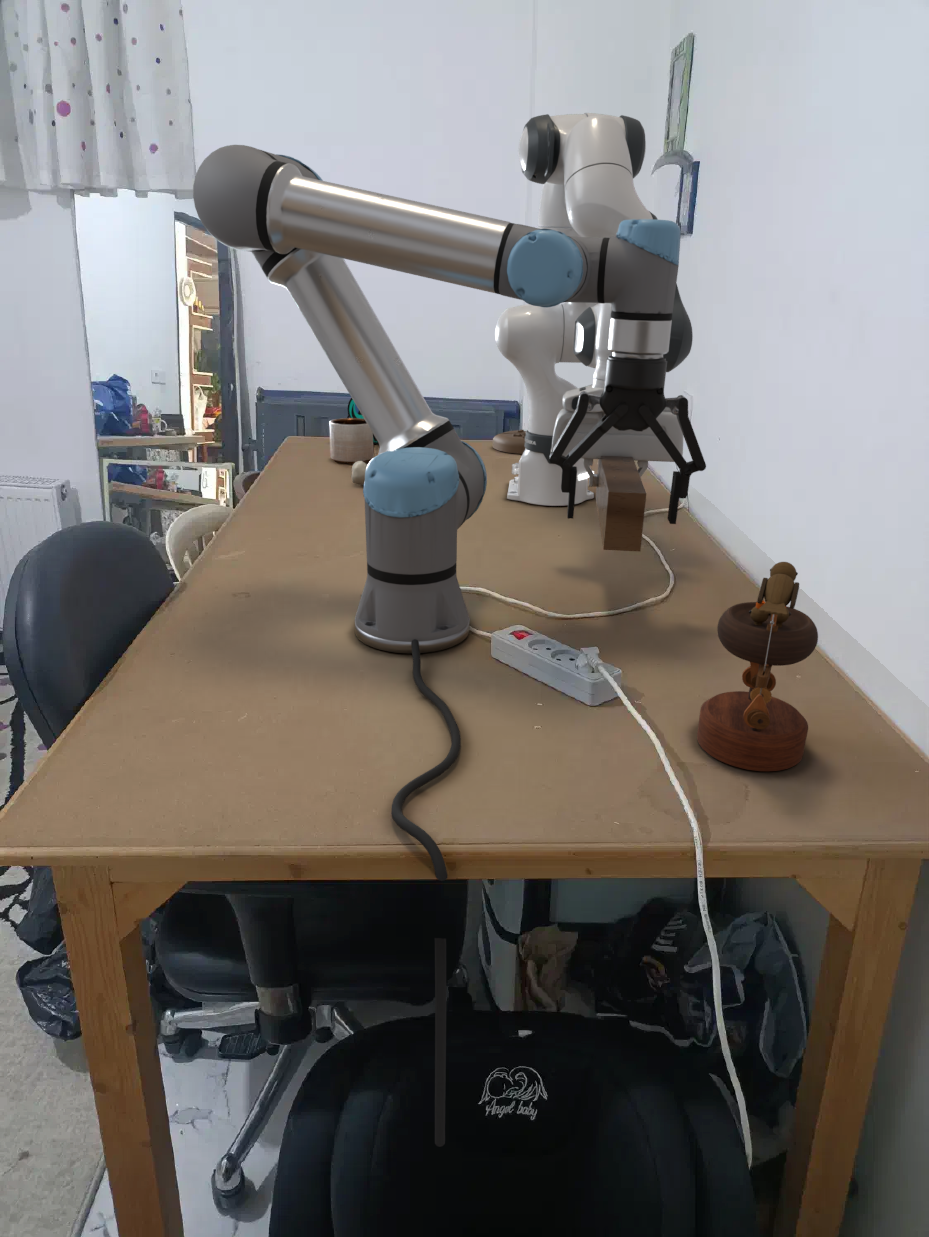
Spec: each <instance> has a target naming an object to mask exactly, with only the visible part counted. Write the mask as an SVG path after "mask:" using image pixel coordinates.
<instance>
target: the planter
mask: <svg viewBox="0 0 929 1237" xmlns="http://www.w3.org/2000/svg"><path fill="white" fill-rule="evenodd" d="M328 424H329V425H328V426H329V453H330V454H329V455H330V456H329V457H330V459H331V460H332V461H333V462H335V463H341V464H354V463H355V462H358V461H363V462H364V463H367V462H368V463H369V462H370V461H371V460H372V459H373V458H374V457H375V455H374V452H375V451H374V450H375V449H374V444H373V432H372V431H371V429H370V427H369V426H368V424H367V422H366V421H365V419H362V418H347V417H342V418H341V417H340V418H335V419H334V418H333V419H331V420H329V421H328Z"/></svg>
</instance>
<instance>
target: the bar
mask: <svg viewBox="0 0 929 1237" xmlns="http://www.w3.org/2000/svg"><path fill="white" fill-rule="evenodd" d="M596 474H598V476H599V479H598V487H595V504H596V509H597V516H598V522H599V529H600V535H601V542H602V548H603V551H619V552H621V551H622V552H641V551H642V540H643V532H644V522H645V513H646V512H645V511H646V504H647V503H646V501H647V492H646V489H645V486H644V483H643V480H642V477H641V478H640V475H639V473H638V468H637V464H636V461H635V460H634V459H633V457H622V456H601V458H600V459H597V472H596Z"/></svg>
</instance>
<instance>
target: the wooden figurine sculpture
mask: <svg viewBox="0 0 929 1237" xmlns="http://www.w3.org/2000/svg"><path fill="white" fill-rule="evenodd" d="M798 574H799V572H797V569H796V567H795V566H794V565H793V564H792V563H791V562H788V561H779V562H777V563H775V564H774V565H773V566H772V567H771V568H769V575H770V576H769V577H763V578H762V581H761V585H760V588H759V592H758V596H757V600H756V601H747V602H740V603H737V604H734V605H732V606H730V607H728V608H727V609H725V611H723V612H722V614H721V615H720V617H719V620H718V622H717V628H716V632H717V637H718V640H719V641H720V644H721V645H722V646H723V648H724V649H725V650H726V651H727V652H728V653H730V654H731V655H733V656H735V657H736V658H738V659H741V660H743V661H747V662H749V666H747V667H746V668H745V669H744V670H743V672H742V673H741V678H742V679H741V680H742V683H743V684H744V685H745V686H746V687H748V688H749V689H748V691H745V690H744V691H743V690H739V691H737V690H735V691H734V690H733V691H725V692H722V693H719V694H716V695H714V696H712V697H711V698H708V699H707V700H705V701H704V702H703V703H702V705H701V706H700V709H699V710H700V711H699V718H698V724H697V732H696V739H697V742H698V744H699V746H700V748H702V750H703V751H704V752H706V753H707V754H708V755H710V756H711V757H712V758H714V759H716V760H718V761H719V762H722V763H724V764H726V765H729V766H731V767H732V766H733V767H736V768H739V769H743V770H748V771H753V772H754V771H755V772H778V771H783V770H787V769H791V768H792V767H794V766H795V767H796V765H798V764H799V763H800V762H801V761H802V759H803V757H804V752H805V747H806V742H807V737H808V732H809V724H808V721H807V720H806V718H805V716H803V715H802V714H801V712H800V711H799V710H798V709H797V708H796V707H795V706H794V705H792V704H790V703H788V702H786V701H784V700H783V699H781V698H778V697H774V696H772V691H773V690H774V689H775V687H776V685H777V679H776V676H775V675H774V674H773V673H772V671H771V670H772V668H773V667H774V666H777V667H779V666H790V665H795V664H797V663H800V662H802V661H804V660H806V659H808V658H809V657H810V656H811V655H812V654H813V653H814V651H815V649H816V647H817V645H818V641H819V631H818V628H817V626H816V624H815V622H814V621H813V619H812V618H811V617H810V616H809V615H807V614H806V613H805V612H803V611H801V610H799V609H796V608H795V606H796V603H797V598H798V595H799V588H800V583H799V582H797V581H796V578H797V576H798ZM788 605H789V606H788Z"/></svg>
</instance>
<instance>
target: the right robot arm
mask: <svg viewBox="0 0 929 1237" xmlns="http://www.w3.org/2000/svg"><path fill="white" fill-rule="evenodd" d="M646 150H647V142H646V133H645V129H644V127H643V124H642V123H641V121H640V120H638V119H636V118H634V117H630V116H627V115H623V114H621V115H620V116H617V115H616V116H615V115H611V114H606V113H605V114H604V113H595V112H584V113H569V114H568V113H567V114H557V115H556V114H555V115H550V114H548V113H547V114H542V115H537V116H533V117H531V118H530V119H529V120H528V121H527V122H526V123H525V124H524V127H523V130H522V133H521V135H520V139H519V142H518V150H517V152H518V161H519V165H520V168H521V172H522V174H523V175H524V177H525V178H526V180H527V181H530V182H531V183H536V184H541V185H542V189H541V193H540V194H541V195H540V201H539V208H538V217H537V218H538V219H537V228H539V229H551V230H555V231H559V232H562V233H564V234H566V235H567V236H570V237H592V238H605V237H606V238H610V237H616V233H617V232H618V228H619V224H620V223H621V222H622V221H623V220H631V219H636V220H638V219H656V220H659V219H658V217H657V216H656V215H655V214H654V213H653V212H651V211H650V210H648V208H646V206H645V205H644V204H643V202H642V200H641V199H640V197H639V194H638V193H637V191H636V187H635V184H634V179H635V178H636V177H637V176H638V174H639V173H640V172H641V170H642V168H643V163H644V161H645V158H646ZM611 311H612V305H611V303H580V302H563V303H560V304H559V305H556V306H553V307H540V306H533V305H530V304H528V303H526V304H521V305H516V306H512V307H507V308H505V310H504V311H502V312H501V314H500V315H499V317H498V319H497V322H496V324H495V329H494V340H495V344H496V347H497V348H498V351H499V352H500V353H501V355H502V357H504V358H505V359H506V360H507V361H509V362H510V363H511V364H512V365H513V367H515V368H516V370H517V372H518V373H519V374H520V377H521V378H522V381H523V382H524V385H525V390H526V395H527V410H528V411H527V412H528V416H527V417H528V418H527V420H528V421H527V430H525V431H526V436H525V445H524V446H525V451H524V453H523V454H521V456H520V459H519V460H518V462H515V463H511V475H518V476H514V478H512V479H510V480H509V483H508V489H507V495H506V499H508V500H510V501H511V500H512V501H519V502H523V503H526V504H527V503H528V504H531V505H538V506H549V507H550V506H551V507H557V506H558V507H559V506H560V507H561V506H568V498H569V493H564V492H562V490H561V479H562V468H561V467H560V466H558V465H556V464H552V463H551V462H550V453H551V452H552V450H553V448H554V446H555V445H556V443H557V441H558V440H559V438H560V436H561V434H562V433H563V431H564V429H565V428H566V426H567V424H568V422H569V421H570V419H571V417H572V416H573V414H574V412H575V410H576V409H577V404H578V399H579V395H580V393H581V392H583V391H585V392H587V393H588V394H593V395H599V396H601V395H602V393H603V391H604V385H605V374H606V363H607V358H609V356H611V355H612V352H610V351H609V350H608V341H609V330H610V320H611V318H612V317H611ZM693 338H694V336H693V326H692V322H691V319H690V316H689V314H688V311H687V309H686V308H685V305H684V303H683V300H682V298H681V294H680V290H679V286H678V283H677V282H676V290H675V297H674V305H673V313H672V323H671V332H670V342H669V351H668V352H667V353H666V354H663V358H665V359H666V361H667V368H666V373H670V372H671V371H673V370H674V369H676V368H677V367H678V366H680V365H681V364H682V363H683V362H684V361H685V360H686V358H688V356H689V354H690V353H691V351H692V346H693ZM559 363H574V364H576V363H577V364H579V363H581V364H582V365H584V366H586V367H589V368H593V369H594V372H593V374H592V384H588V385H585V386H581V387H578V386H576V385H574V384H573V383H572V382H570V381H568V380H566V379H565V378H563V377H561V376H559V375H558V374H557V373H556V366H555V365H556V364H559ZM604 416H605V413H604V411H603V410H602V408H601V407H600V404H597V405H595V406H594V408H593V409H592V410H591V411H587V412H586V415H585V417H584V419H583V420H582V422H581V424H580V426H579V427H578V429H577V431H576V432H575V434H574V436H573V437H572V439H571V441H570V443H569V444H568V446H567V448H566V449H565V451H564V453H563V454H562V455H563V456H565V457H566V456H567V455H568V454H569V453H570V452H571V451H572V450H573V448H574V447H575V446H576V445H577V444H578V443H579V442H580V441H581V440H582V439H583V438H584V437H585V436H586V435H587V434H588V433H589V432H590V431H591V430H592V429H593V428H594V427H595V426H596V425H597V423H598V422H599V421H600V420H601V419H602V418H603V417H604ZM656 420H657V421H658V422H659V424H660V425H661V427H662V428H663V430H664V431H665V432H666V434H667V435H668V437H669V438H670V439H671V441H672V442H673V444H674V445H675V447H676V448H677V449H678V451H679V452H680V454H681V455H682V456H683V454H684V436H683V433H682V430H681V428H680V425H679V422H678V419H677V416H676V415H674V414H672V413H671V411H670V408H669V407H666V408H665V409H664V410H663V412H662V413H661V414H660V415H659V416H658V417H657V419H656ZM601 456H622V457H633V459H634V461H635V462H636V461H637V466H638V468H637V470H638V473H639V475H640V478H641V479H642V476H643V475H644V474H645V472H646V470H647V469H648V467H649V462H664V463H665V462H666V463H675V462H674V461H673V459H672V458H671V456H670V455H669V453H668V452H667V451H666V449H665V448H664V446H663V445H662V444H661V442H660V441H659V439H658V438H657V437H656V435H655V434H654V432H653V431H652V430H651V428H650V427H649V428H647V429H646V430H643V431H634V430H631V429H630V430H625V431H620V430H618V429H616V428H614V427H613V426H612V427H611V428H610V429H609V430H608V431H607V432H606V433H605V434H604V435H603V436H602V437H601V438H600V439H599V440H598V441H597V442H596V443H595V444H594V445H593V446H592V447H591V448H590V449H589V450H588V451H587V452H586V453H585V454H584V455H583V456H582V457H581V458H580V459H579V460H578V461H577V462H576V463H575V464H574V465H573V466H575V467H577V478H576V491H575V504H574V505H579V504H580V503H583V502H585V501H587V500H592V499H594V498H595V493H594V492H593V491H591V490H589V488H596V487H598V479H599V476H598V474H597V473H595V471H594V470H592V468H591V466H593V463H594V460H598V459H600V458H601ZM588 487H589V488H588Z"/></svg>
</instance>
